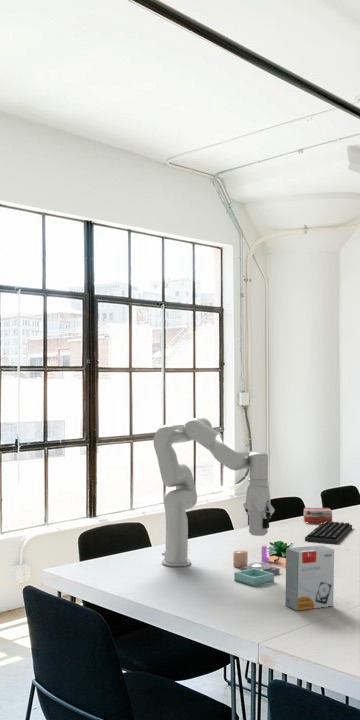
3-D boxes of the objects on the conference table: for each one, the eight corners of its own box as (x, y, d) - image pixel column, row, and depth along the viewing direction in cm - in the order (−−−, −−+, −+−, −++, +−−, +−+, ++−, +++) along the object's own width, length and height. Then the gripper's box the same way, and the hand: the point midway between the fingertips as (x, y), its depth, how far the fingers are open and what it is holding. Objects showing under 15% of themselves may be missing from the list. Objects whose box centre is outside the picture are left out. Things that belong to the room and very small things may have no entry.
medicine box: (305, 524, 407) (305, 509, 408) (303, 521, 416) (303, 507, 416) (332, 524, 407) (332, 510, 407) (329, 521, 415) (329, 508, 415)
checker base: (241, 572, 297) (241, 565, 297) (260, 568, 304) (260, 561, 304) (261, 577, 288) (261, 570, 289) (280, 573, 295) (280, 566, 295)
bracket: (274, 562, 314) (274, 546, 315) (261, 561, 316) (261, 545, 317) (280, 556, 327) (280, 541, 327) (268, 555, 328) (268, 540, 329)
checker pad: (245, 567, 297) (245, 564, 297) (260, 564, 303) (260, 561, 303) (260, 571, 290) (260, 568, 290) (276, 568, 296) (276, 565, 296)
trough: (234, 580, 284) (234, 572, 284) (254, 576, 291) (254, 568, 291) (254, 586, 275) (254, 578, 275) (274, 582, 282) (274, 573, 282)
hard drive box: (296, 611, 244) (296, 552, 245) (284, 605, 251) (284, 547, 252) (334, 606, 251) (334, 548, 251) (321, 600, 258) (321, 544, 258)
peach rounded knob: (230, 565, 308) (230, 551, 308) (240, 563, 311) (240, 549, 312) (240, 568, 303) (240, 554, 303) (250, 566, 307) (250, 552, 307)
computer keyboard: (323, 527, 401) (323, 520, 401) (352, 529, 395) (352, 522, 395) (304, 542, 359) (304, 534, 359) (336, 545, 353) (336, 537, 353)
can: (246, 535, 290) (247, 505, 290) (251, 532, 297) (251, 502, 297) (265, 536, 287) (265, 506, 288) (269, 533, 294) (269, 503, 295)
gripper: (237, 481, 297) (236, 524, 296) (268, 486, 284) (268, 531, 283) (249, 480, 302) (249, 522, 301) (281, 484, 289) (280, 528, 288)
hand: (258, 526), depth 292 cm, fingers closed on can, 7 cm apart
